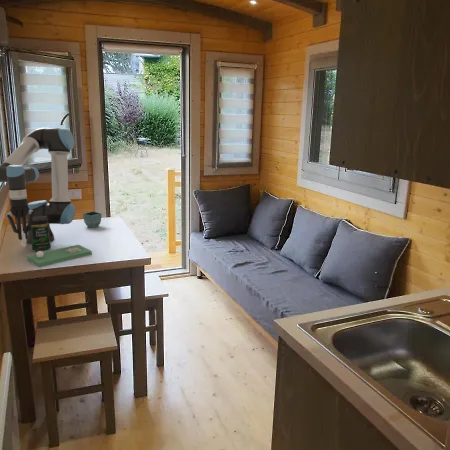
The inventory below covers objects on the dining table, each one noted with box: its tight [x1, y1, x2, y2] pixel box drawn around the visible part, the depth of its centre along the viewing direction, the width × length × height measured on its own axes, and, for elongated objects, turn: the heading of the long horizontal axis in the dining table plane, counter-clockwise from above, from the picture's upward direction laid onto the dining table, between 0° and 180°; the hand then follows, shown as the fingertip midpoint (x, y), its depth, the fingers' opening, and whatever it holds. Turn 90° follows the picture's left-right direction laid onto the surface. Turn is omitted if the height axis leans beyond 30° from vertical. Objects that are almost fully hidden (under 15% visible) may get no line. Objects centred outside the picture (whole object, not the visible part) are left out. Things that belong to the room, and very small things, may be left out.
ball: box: [35, 251, 44, 258], centre depth 215 cm, size 4×4×4 cm
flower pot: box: [82, 211, 102, 229], centre depth 279 cm, size 9×9×9 cm
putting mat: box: [26, 244, 93, 268], centre depth 223 cm, size 15×28×2 cm, turn 134°
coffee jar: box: [31, 216, 51, 252], centre depth 232 cm, size 10×8×19 cm
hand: (23, 245), depth 208 cm, fingers closed
